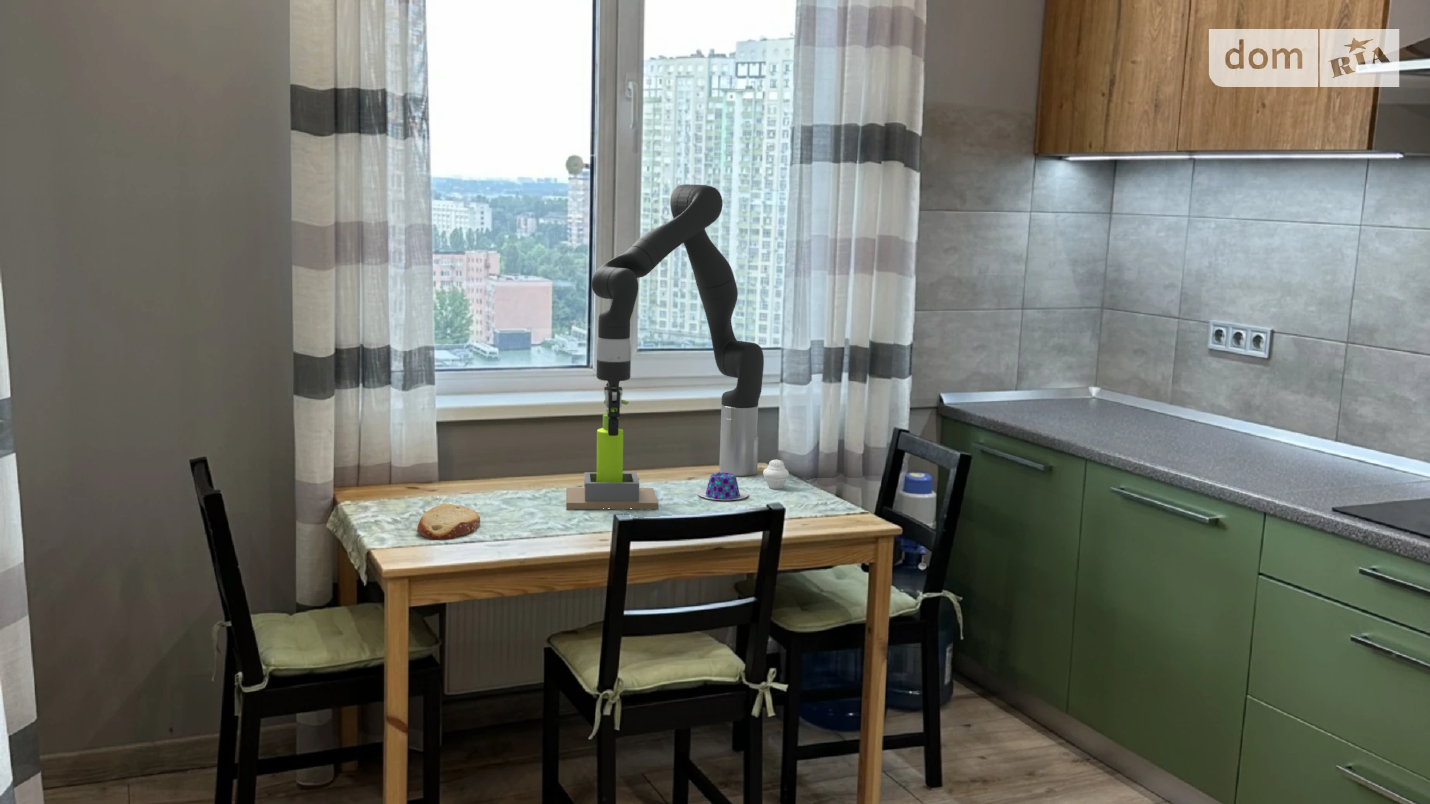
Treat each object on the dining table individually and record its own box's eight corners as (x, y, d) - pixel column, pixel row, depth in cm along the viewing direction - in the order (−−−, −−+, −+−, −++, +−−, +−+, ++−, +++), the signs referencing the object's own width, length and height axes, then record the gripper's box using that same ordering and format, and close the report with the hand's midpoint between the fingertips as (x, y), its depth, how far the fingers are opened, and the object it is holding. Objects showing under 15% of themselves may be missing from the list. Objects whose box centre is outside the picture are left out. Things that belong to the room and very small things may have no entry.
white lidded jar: (788, 485, 299) (789, 457, 298) (787, 491, 293) (788, 462, 292) (763, 484, 300) (764, 455, 299) (761, 489, 294) (762, 461, 293)
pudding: (688, 499, 284) (689, 477, 283) (708, 488, 295) (709, 467, 294) (737, 505, 279) (738, 483, 278) (755, 494, 290) (756, 472, 289)
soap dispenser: (625, 490, 274) (627, 402, 271) (594, 489, 274) (596, 401, 271) (628, 484, 280) (629, 397, 277) (597, 483, 280) (599, 396, 277)
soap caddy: (653, 494, 286) (653, 471, 285) (657, 509, 272) (658, 485, 271) (566, 494, 283) (566, 470, 282) (566, 509, 270) (566, 485, 269)
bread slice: (456, 511, 267) (456, 494, 266) (508, 528, 255) (508, 510, 254) (384, 526, 254) (383, 508, 253) (435, 544, 242) (435, 526, 241)
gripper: (632, 362, 266) (631, 439, 269) (629, 353, 280) (627, 426, 283) (597, 362, 265) (596, 439, 268) (595, 353, 279) (594, 426, 282)
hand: (612, 432), depth 275 cm, fingers closed on soap dispenser, 6 cm apart
